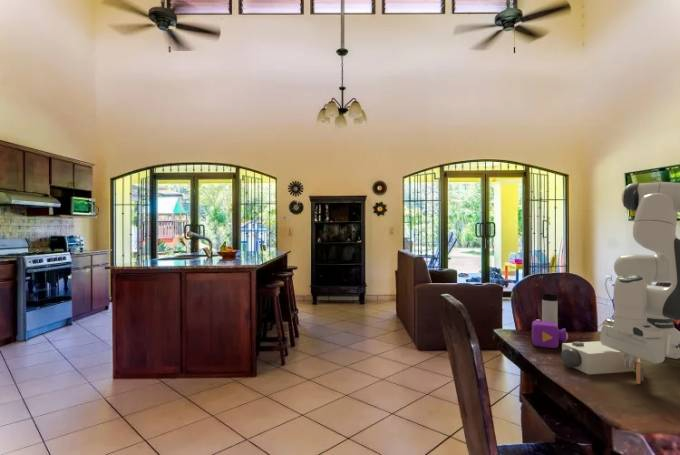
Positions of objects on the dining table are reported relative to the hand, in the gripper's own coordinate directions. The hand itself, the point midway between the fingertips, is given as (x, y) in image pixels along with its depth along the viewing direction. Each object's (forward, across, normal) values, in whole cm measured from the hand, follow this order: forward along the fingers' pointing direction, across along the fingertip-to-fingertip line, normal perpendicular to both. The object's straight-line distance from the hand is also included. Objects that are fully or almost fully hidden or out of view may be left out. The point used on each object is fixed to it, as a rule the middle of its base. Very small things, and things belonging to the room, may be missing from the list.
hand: (629, 367), depth 126 cm
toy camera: (+4, -37, 0) cm, 37 cm away
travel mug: (+4, -49, +9) cm, 50 cm away
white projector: (+4, -12, -2) cm, 13 cm away
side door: (+3, -1, +4) cm, 5 cm away
